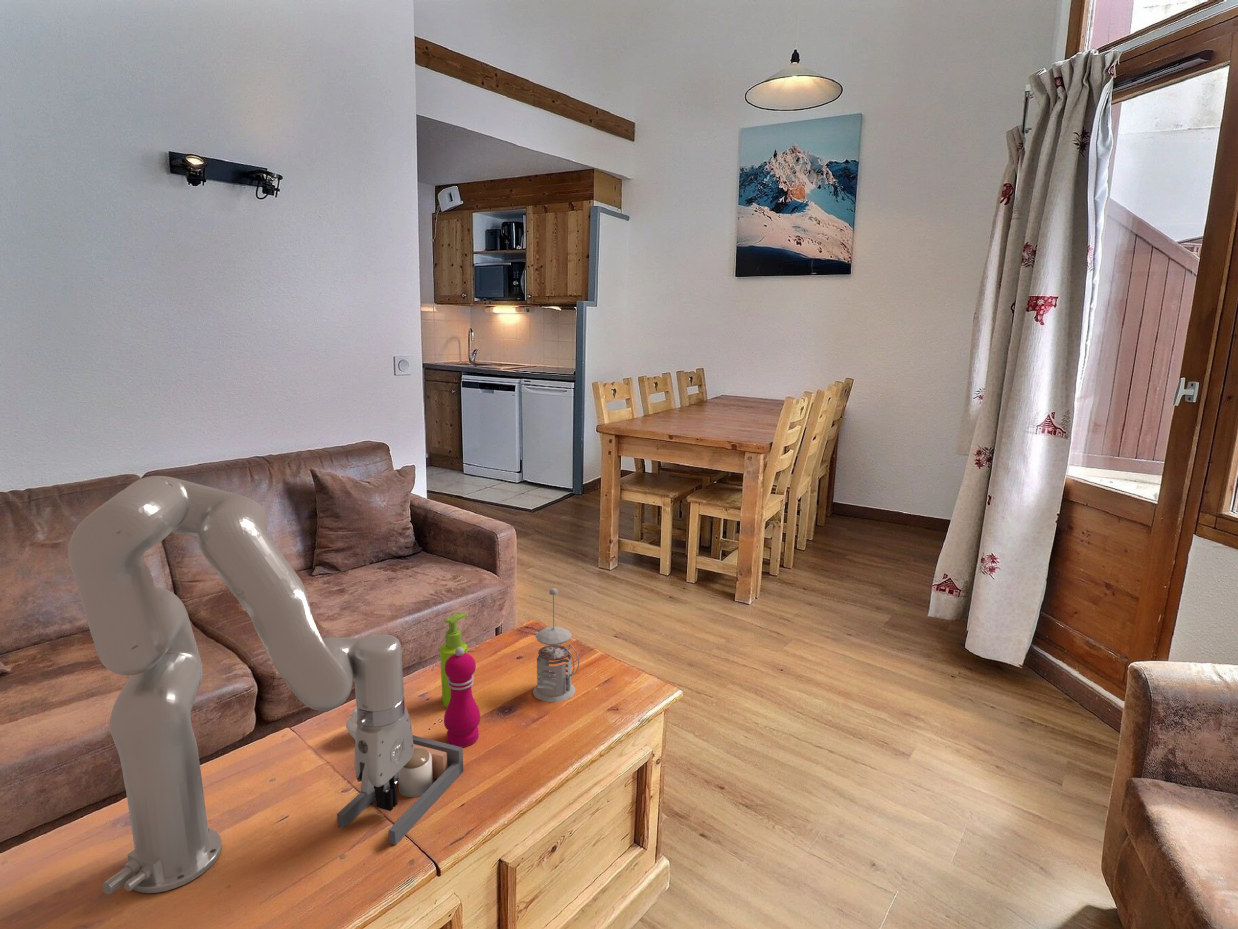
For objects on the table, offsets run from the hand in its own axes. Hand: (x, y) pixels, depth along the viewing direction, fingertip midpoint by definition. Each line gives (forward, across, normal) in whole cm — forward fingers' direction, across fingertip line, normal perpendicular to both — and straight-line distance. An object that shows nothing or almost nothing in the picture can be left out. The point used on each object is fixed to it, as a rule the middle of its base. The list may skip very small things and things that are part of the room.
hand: (386, 806), depth 118 cm
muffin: (+2, +17, +19) cm, 25 cm away
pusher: (+1, +12, 0) cm, 12 cm away
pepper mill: (+2, +24, 0) cm, 24 cm away
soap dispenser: (+2, +36, +8) cm, 37 cm away
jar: (+2, +8, 0) cm, 8 cm away
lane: (+2, +5, 0) cm, 5 cm away
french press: (+2, +47, -11) cm, 48 cm away
